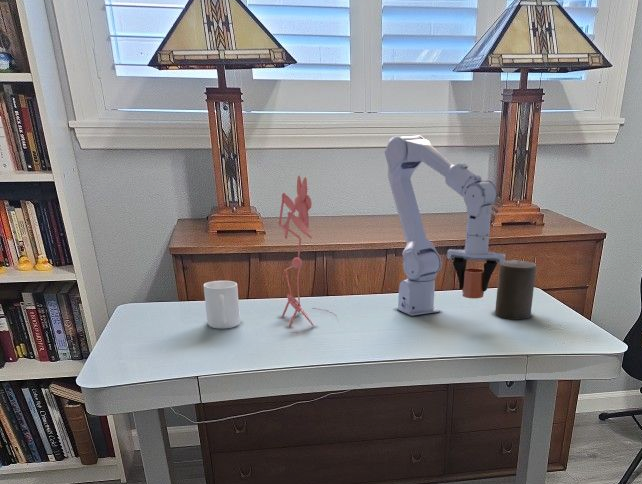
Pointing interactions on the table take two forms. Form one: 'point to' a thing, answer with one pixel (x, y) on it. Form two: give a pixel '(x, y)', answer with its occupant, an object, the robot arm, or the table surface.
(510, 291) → the pillar candle
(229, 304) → the cup
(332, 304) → the table surface
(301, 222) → the pink stick figure
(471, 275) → the terracotta pipe segment
